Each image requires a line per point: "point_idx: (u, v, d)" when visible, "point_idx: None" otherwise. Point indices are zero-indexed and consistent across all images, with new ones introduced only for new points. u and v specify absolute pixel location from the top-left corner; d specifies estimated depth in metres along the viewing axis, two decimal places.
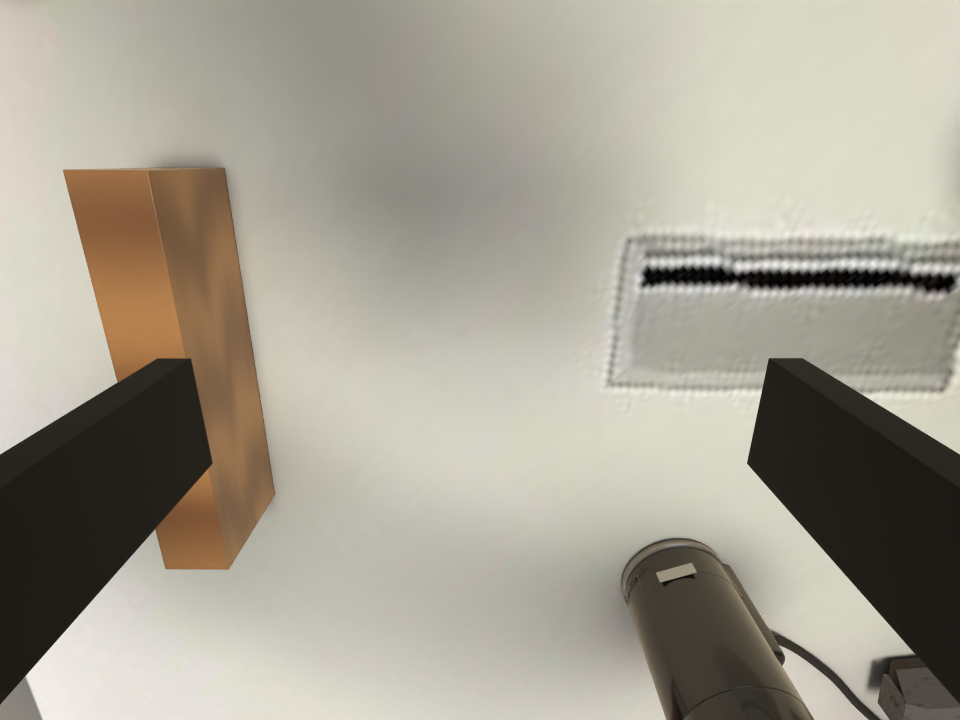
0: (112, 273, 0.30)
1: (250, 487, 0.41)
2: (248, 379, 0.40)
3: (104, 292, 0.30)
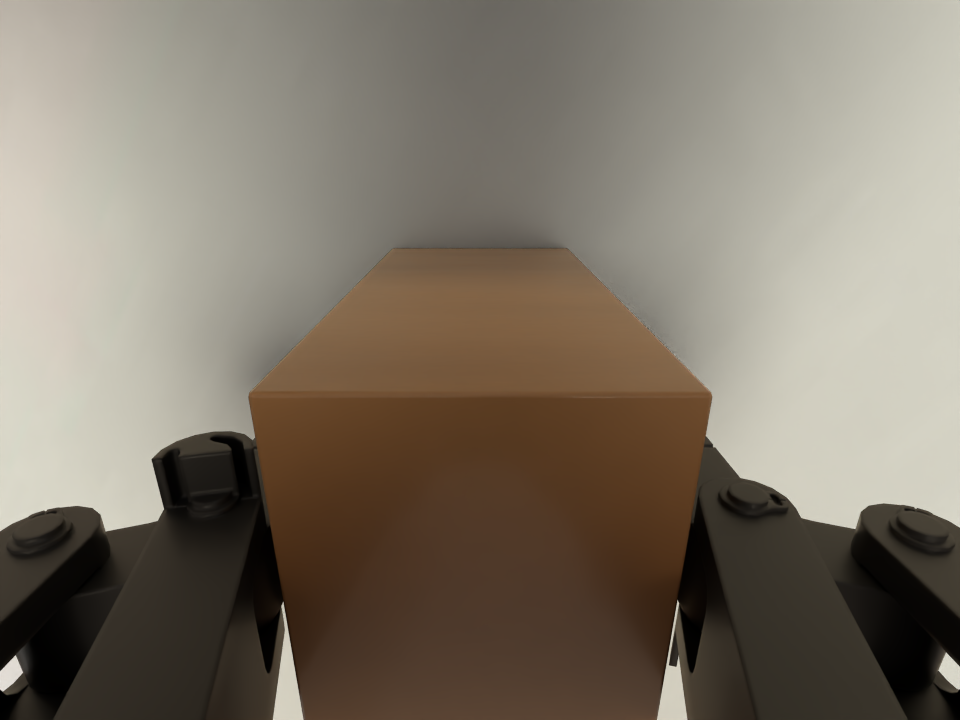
0: None
1: None
2: None
3: None
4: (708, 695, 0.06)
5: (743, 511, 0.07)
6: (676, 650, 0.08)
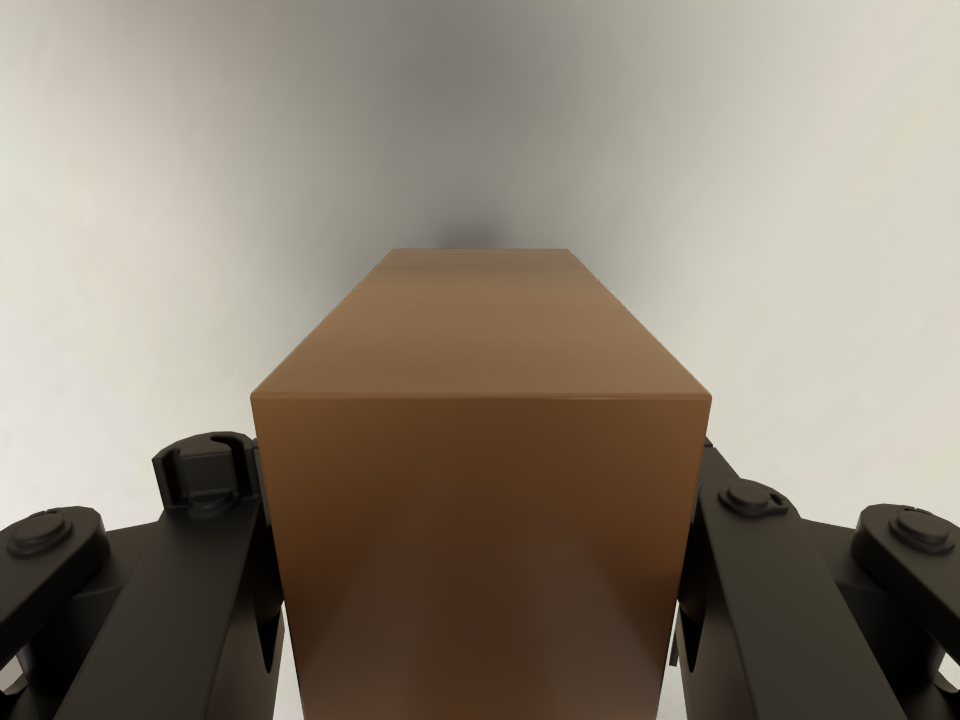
0: None
1: None
2: None
3: None
4: (708, 695, 0.06)
5: (743, 511, 0.07)
6: (676, 650, 0.08)
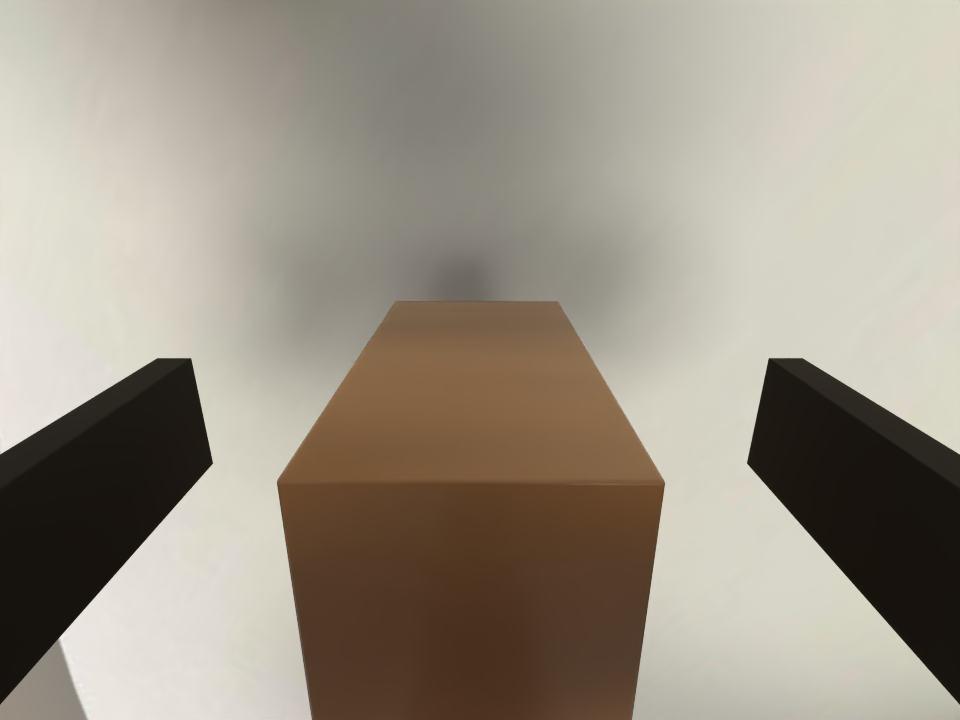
0: None
1: None
2: None
3: None
4: None
5: None
6: None
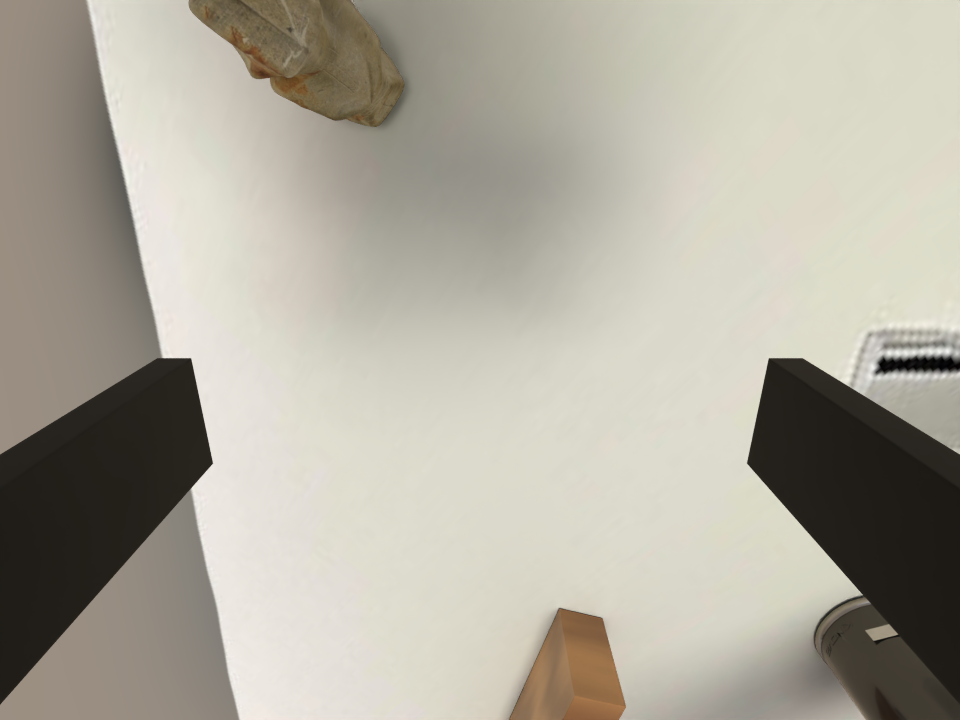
0: None
1: None
2: None
3: None
4: None
5: None
6: None
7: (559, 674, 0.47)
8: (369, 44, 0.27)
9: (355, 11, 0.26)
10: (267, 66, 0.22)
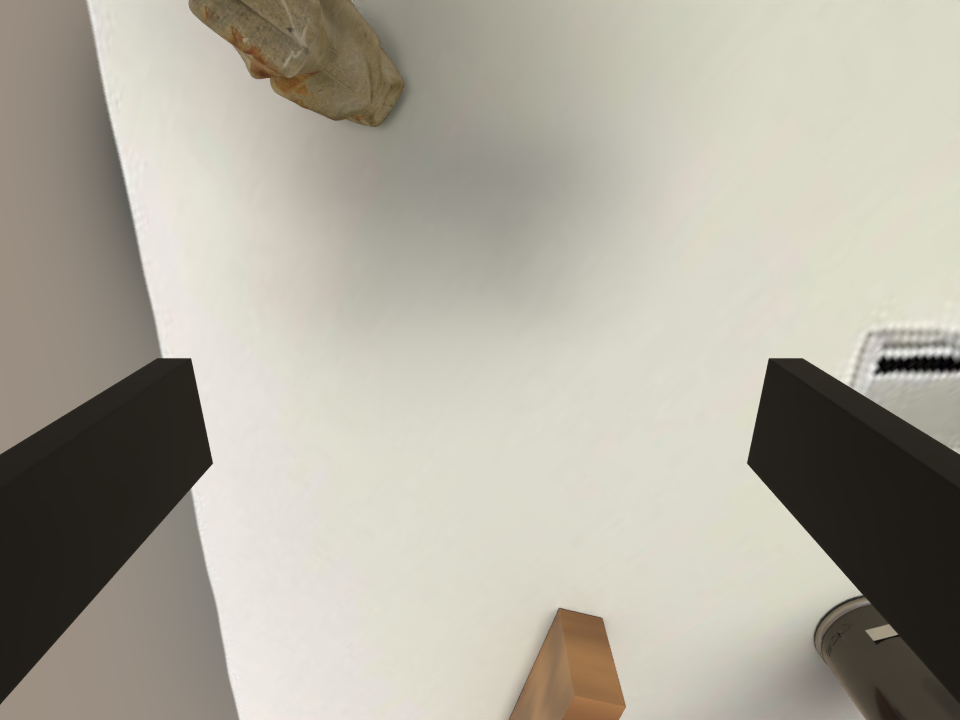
0: None
1: None
2: None
3: None
4: None
5: None
6: None
7: (559, 674, 0.47)
8: (369, 44, 0.27)
9: (355, 11, 0.26)
10: (267, 66, 0.22)
